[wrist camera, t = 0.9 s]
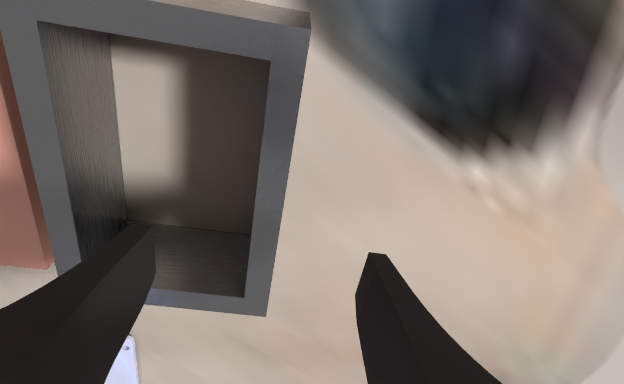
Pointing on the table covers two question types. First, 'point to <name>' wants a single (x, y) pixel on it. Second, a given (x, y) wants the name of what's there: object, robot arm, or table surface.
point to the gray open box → (105, 139)
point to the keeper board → (18, 187)
